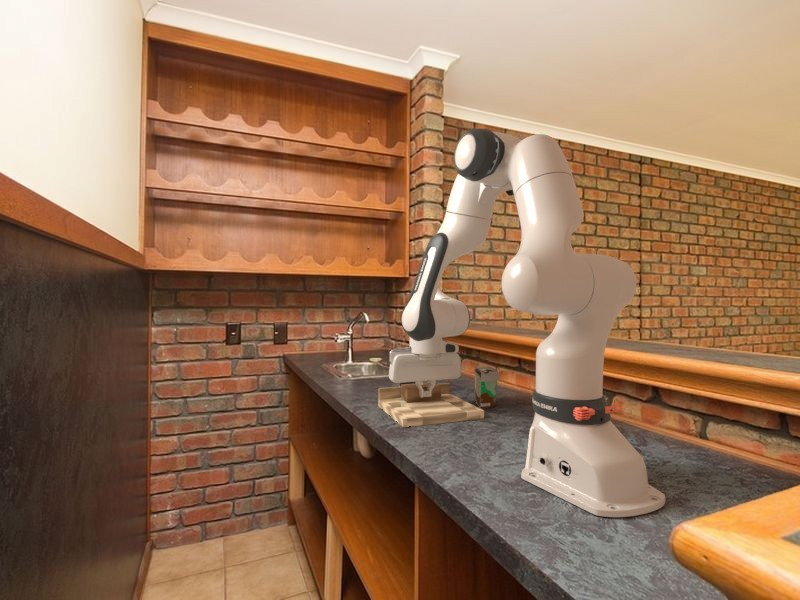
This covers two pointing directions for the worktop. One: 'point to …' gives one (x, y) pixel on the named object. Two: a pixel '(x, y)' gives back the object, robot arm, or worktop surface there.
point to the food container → (485, 386)
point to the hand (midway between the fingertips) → (425, 396)
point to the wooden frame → (427, 408)
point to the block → (412, 393)
